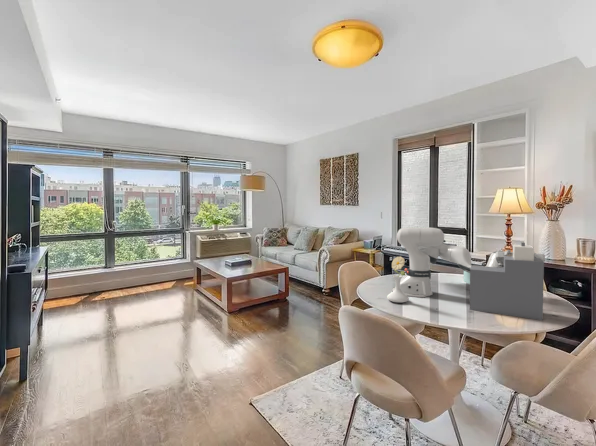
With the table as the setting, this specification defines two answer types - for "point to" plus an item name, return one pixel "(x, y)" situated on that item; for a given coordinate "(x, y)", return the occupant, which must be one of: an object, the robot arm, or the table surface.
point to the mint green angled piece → (466, 277)
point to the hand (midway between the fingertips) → (520, 251)
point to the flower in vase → (398, 282)
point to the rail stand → (509, 288)
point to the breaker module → (523, 252)
